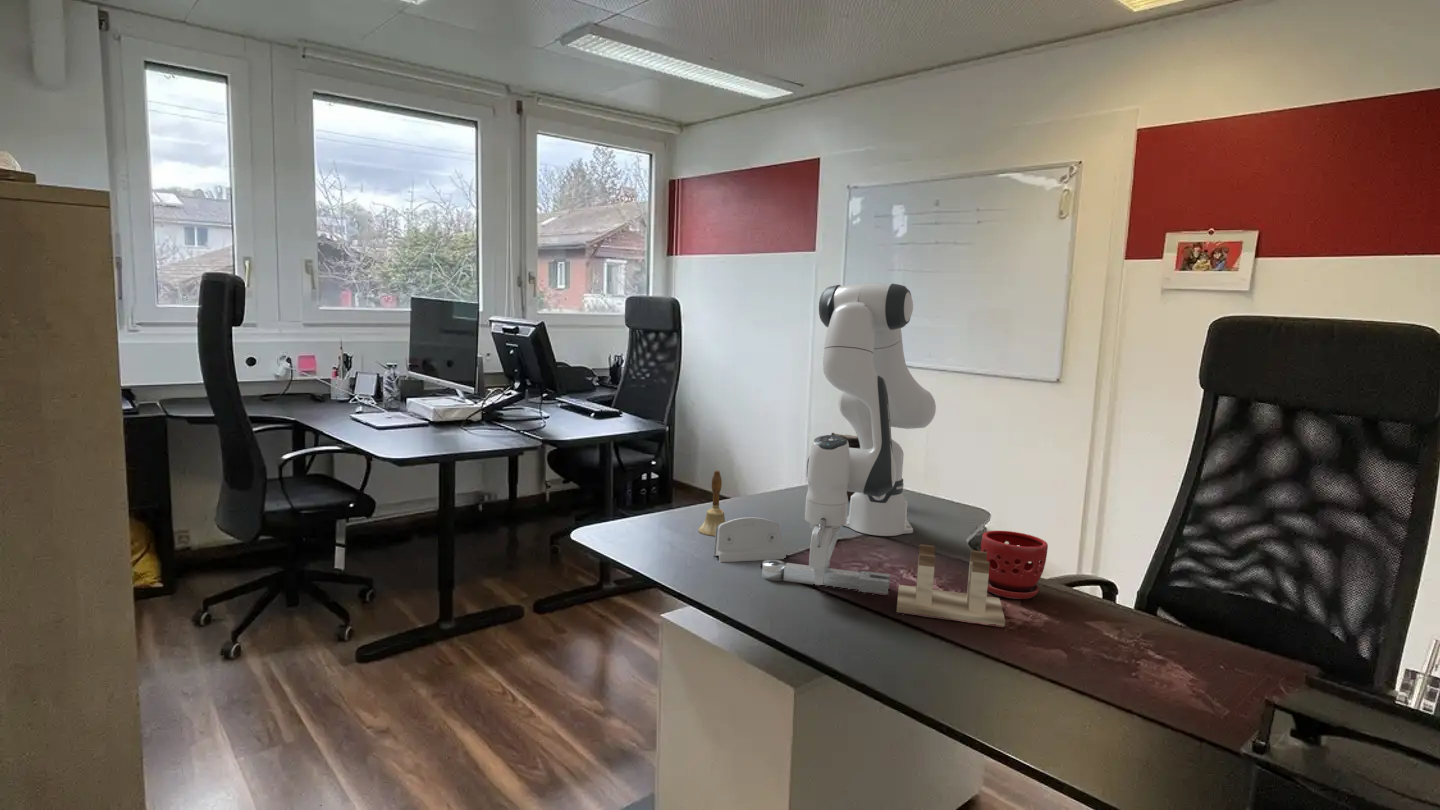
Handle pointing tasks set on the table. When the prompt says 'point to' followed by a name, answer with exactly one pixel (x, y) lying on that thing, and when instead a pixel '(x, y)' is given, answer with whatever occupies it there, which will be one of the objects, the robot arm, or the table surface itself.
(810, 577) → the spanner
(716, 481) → the hand bell
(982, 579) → the tool rest
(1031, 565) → the plant pot
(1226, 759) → the table surface
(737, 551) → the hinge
